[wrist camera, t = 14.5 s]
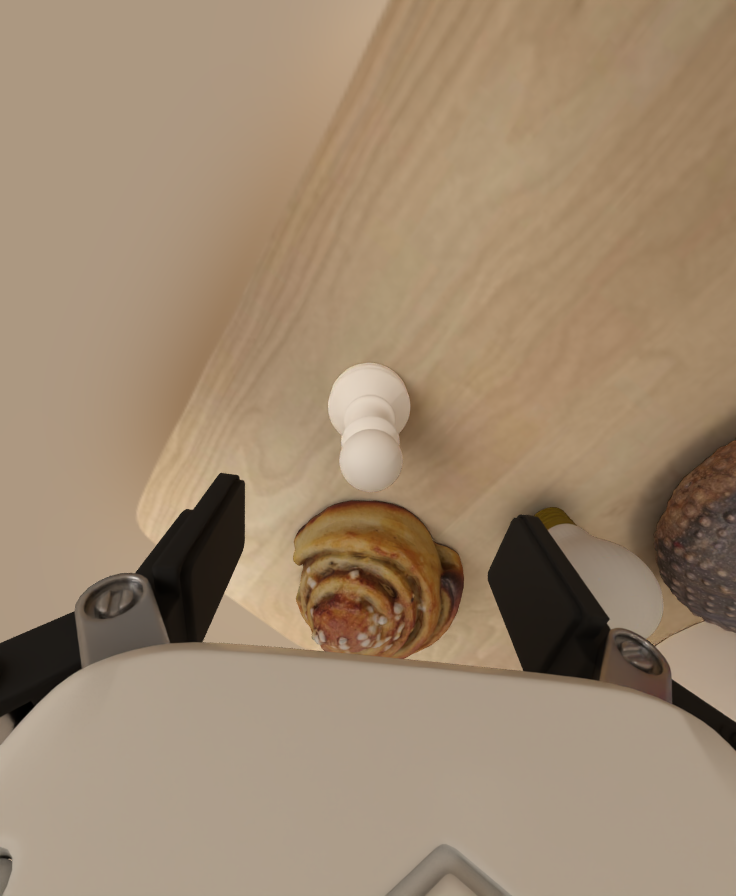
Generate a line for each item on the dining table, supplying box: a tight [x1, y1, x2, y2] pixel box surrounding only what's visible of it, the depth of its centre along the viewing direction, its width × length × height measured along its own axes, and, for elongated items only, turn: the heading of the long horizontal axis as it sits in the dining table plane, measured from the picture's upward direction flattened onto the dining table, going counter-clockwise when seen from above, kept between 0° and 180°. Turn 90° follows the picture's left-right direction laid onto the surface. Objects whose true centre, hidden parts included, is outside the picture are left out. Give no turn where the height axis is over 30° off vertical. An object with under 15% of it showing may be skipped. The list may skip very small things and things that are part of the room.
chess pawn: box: [328, 363, 411, 492], centre depth 18 cm, size 5×5×9 cm
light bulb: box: [534, 507, 663, 639], centre depth 22 cm, size 6×6×10 cm
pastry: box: [293, 501, 464, 659], centre depth 26 cm, size 13×15×8 cm
